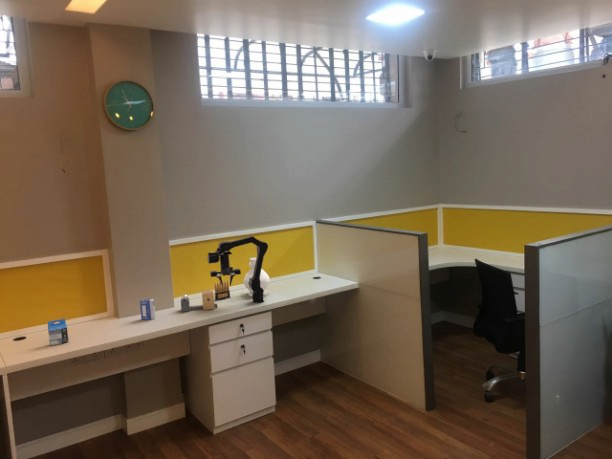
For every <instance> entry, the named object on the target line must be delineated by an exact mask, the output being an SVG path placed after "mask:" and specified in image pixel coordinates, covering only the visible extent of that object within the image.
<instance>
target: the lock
mask: <svg viewBox="0 0 612 459" xmlns="http://www.w3.org/2000/svg"><path fill="white" fill-rule="evenodd" d="M201 298H202V301H201V302H202V305H203V309H202V310H203V311H206V310H215V309H216V308H215V306H214V304H215V292H214V290H213V289H211V290H202V291H201Z"/></svg>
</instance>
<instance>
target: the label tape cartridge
mask: <svg viewBox="0 0 612 459" xmlns="http://www.w3.org/2000/svg"><path fill="white" fill-rule="evenodd" d="M47 332H48V341H49V346H50V347H51V346H57V345H62V344H67V343H69V336H68V335H69V334H68V333H69V332H68V327H67V323H66V318H62V319H61V318H59V319H55V320H51V321H47Z"/></svg>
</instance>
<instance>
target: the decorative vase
mask: <svg viewBox="0 0 612 459" xmlns="http://www.w3.org/2000/svg"><path fill="white" fill-rule="evenodd" d="M256 258H257V256H255V257H250V258H249V262H248V267H250V269H249V270H248V271H247V273H246V274H245V276H244V279H243V285H244V286H245V288H246V289H247V290H248V291H249V293H248V294H247V295H248V296H250V297H252V294H253V292H254V291H252V289H251V288H250V287H249V284H248V283H249V278H252V277H253V273H254V268H255V263H256ZM262 266H263V263H262ZM270 283H271V278H270V276H269V275H268V273H267V272H266V271H265V270H264V269H263V268H261V273H260V287H261V288H262V289H263V290H264V292H263V297H264V296H266V295H267V291H266V290H267V289H268V287H269V285H270Z"/></svg>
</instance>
